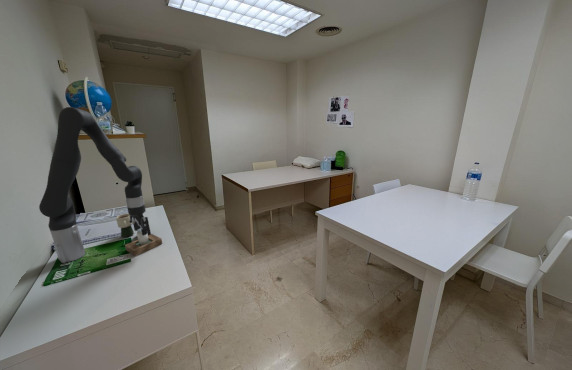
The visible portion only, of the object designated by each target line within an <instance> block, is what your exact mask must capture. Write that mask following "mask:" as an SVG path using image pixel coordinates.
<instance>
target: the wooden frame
mask: <svg viewBox="0 0 572 370" xmlns="http://www.w3.org/2000/svg"><path fill="white" fill-rule="evenodd" d="M148 239H149V243H147V244H145V245H143V246H141V245H139V241H138V239H136V240H134V241H131V242H129V243H127V244H125V245H124V247H125V250H126V251H127V253H130V254H131V255H133V256H135V257H136V256H137V257H138V256H139V255H140V254H143V253H146V252H147V251H150V250H151V249H154V248H156V247H159V246H160V245H162V244H163V240H162V237H159V236H158V235H155V234H153V233H151V235H148Z"/></svg>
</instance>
